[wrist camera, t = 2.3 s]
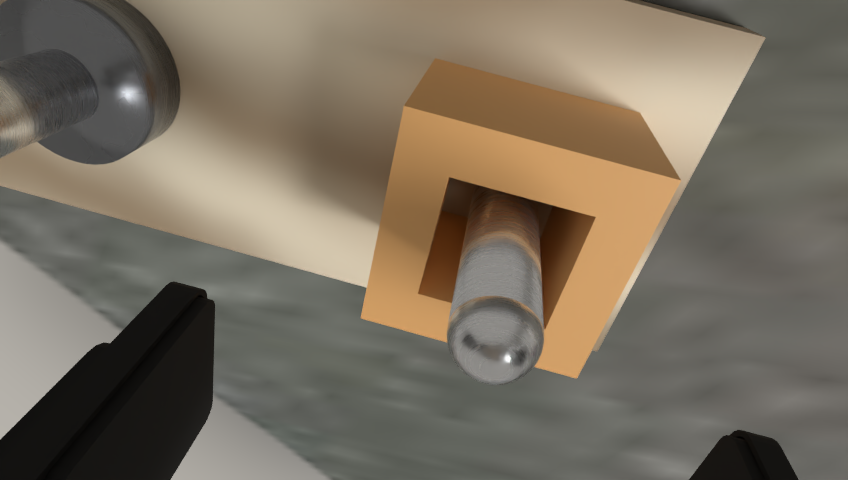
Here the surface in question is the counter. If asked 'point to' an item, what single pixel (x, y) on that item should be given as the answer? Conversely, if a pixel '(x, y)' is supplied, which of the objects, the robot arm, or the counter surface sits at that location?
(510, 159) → the collar
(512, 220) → the stand rod
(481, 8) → the board
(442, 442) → the counter surface
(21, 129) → the metal peg
